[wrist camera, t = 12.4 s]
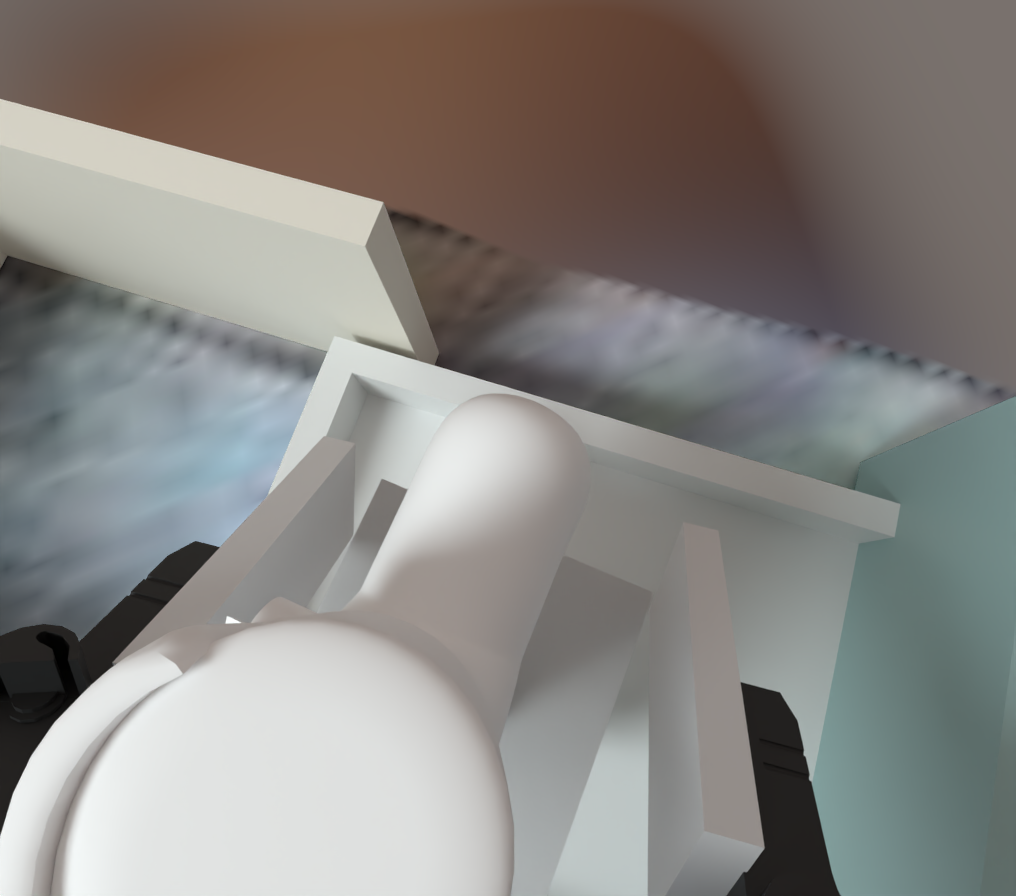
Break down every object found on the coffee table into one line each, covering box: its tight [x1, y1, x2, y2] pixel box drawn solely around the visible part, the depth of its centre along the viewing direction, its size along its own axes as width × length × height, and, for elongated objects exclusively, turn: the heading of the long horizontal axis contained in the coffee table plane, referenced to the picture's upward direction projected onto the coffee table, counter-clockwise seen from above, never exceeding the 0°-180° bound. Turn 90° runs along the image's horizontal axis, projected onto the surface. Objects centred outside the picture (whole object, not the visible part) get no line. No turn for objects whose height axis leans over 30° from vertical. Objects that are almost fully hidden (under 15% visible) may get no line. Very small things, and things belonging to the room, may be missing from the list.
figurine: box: [0, 393, 654, 896], centre depth 11 cm, size 7×9×15 cm
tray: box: [268, 336, 1016, 896], centre depth 16 cm, size 19×20×8 cm
